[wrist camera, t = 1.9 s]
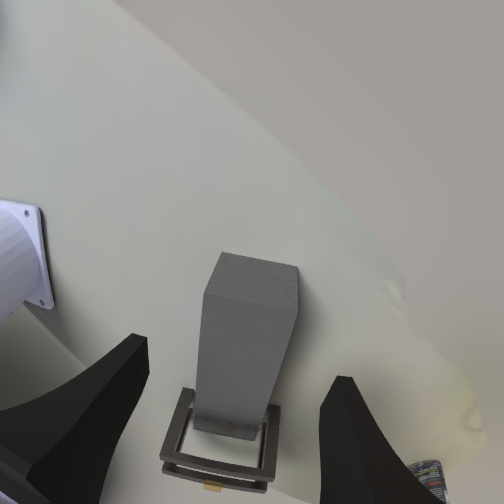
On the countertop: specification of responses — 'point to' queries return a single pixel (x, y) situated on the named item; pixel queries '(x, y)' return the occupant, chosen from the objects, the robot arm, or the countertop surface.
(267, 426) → the bracket
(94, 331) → the countertop surface
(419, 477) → the pill bottle
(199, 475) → the dark grey rectangular frame
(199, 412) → the gray rectangular prism
